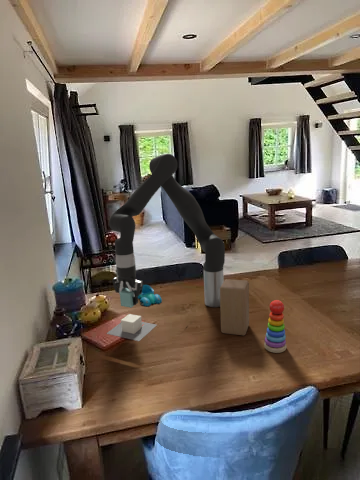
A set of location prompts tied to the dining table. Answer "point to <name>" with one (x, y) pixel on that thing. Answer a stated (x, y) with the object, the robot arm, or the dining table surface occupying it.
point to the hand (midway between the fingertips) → (129, 303)
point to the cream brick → (131, 323)
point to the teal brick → (126, 298)
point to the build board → (138, 335)
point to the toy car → (149, 296)
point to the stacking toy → (276, 329)
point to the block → (234, 306)
